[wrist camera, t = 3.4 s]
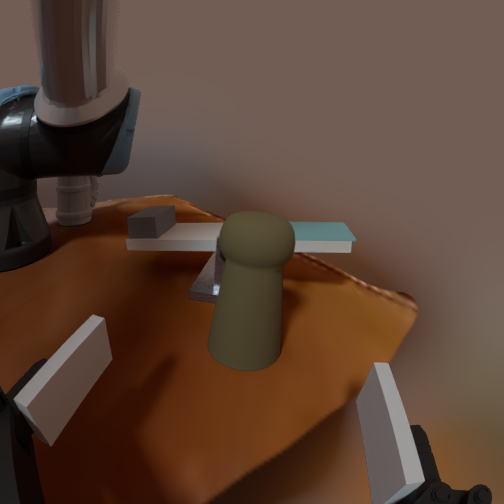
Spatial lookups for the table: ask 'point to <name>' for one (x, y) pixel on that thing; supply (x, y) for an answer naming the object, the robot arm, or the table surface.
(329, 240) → the beam
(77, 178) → the mug
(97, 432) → the table surface
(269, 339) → the cork
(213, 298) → the stand
